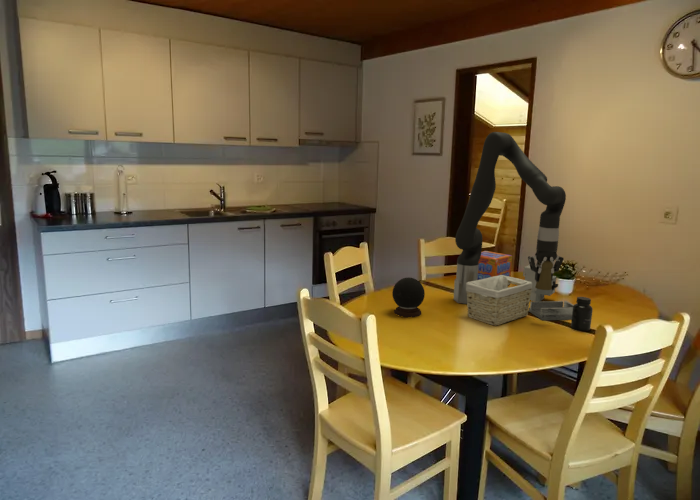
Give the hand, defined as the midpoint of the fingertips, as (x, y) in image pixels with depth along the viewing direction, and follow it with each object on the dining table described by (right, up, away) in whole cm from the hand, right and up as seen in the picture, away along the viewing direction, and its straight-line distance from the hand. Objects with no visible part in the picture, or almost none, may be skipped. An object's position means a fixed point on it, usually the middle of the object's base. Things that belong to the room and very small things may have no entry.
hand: (543, 281), depth 194 cm
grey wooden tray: (+9, -15, +12) cm, 21 cm away
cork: (0, -3, 0) cm, 3 cm away
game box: (-5, -5, +60) cm, 60 cm away
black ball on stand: (-52, -14, +12) cm, 55 cm away
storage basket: (-15, -15, +9) cm, 23 cm away
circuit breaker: (+11, -11, +34) cm, 37 cm away
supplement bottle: (+13, -18, -3) cm, 22 cm away
